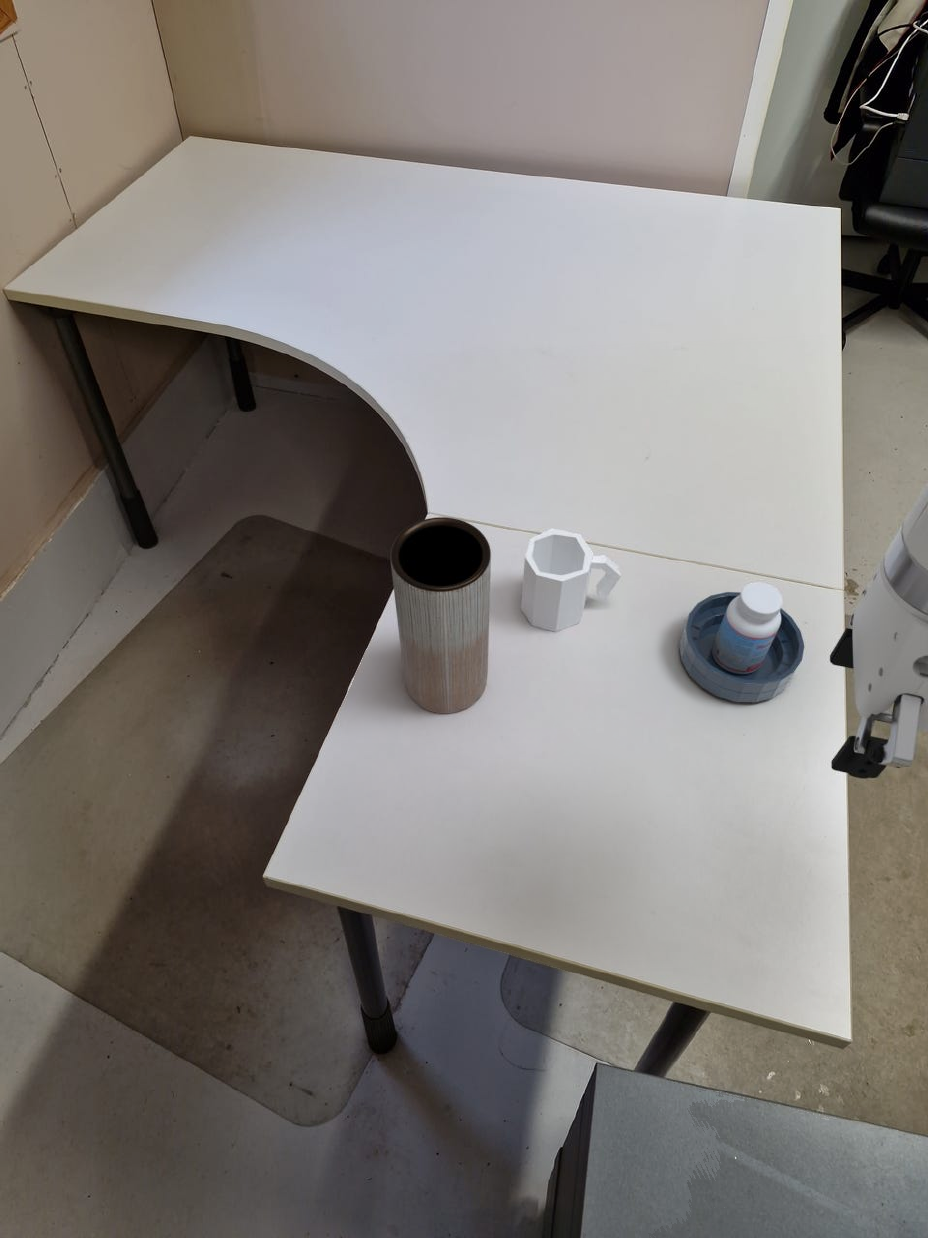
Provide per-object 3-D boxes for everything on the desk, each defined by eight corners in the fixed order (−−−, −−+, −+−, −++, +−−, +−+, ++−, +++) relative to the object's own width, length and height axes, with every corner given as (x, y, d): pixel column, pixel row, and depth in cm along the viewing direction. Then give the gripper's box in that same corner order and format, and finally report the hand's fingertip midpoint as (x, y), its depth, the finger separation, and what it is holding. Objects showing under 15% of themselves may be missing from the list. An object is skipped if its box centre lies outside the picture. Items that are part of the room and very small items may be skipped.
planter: (391, 700, 97) (373, 574, 79) (423, 636, 103) (413, 505, 85) (470, 725, 95) (470, 602, 77) (498, 659, 101) (504, 529, 83)
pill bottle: (755, 683, 98) (783, 626, 89) (705, 665, 99) (728, 607, 90) (767, 646, 101) (795, 587, 92) (718, 629, 103) (741, 569, 94)
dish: (758, 604, 106) (768, 582, 102) (813, 690, 98) (826, 669, 94) (661, 627, 104) (667, 605, 100) (708, 716, 96) (717, 695, 92)
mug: (524, 633, 103) (529, 583, 95) (517, 581, 108) (520, 529, 101) (619, 628, 104) (631, 577, 96) (607, 576, 109) (617, 524, 101)
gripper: (1046, 698, 44) (910, 830, 57) (1002, 482, 54) (895, 637, 67) (897, 669, 45) (799, 805, 58) (882, 463, 55) (801, 619, 69)
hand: (850, 715), depth 63 cm, fingers open, 9 cm apart
